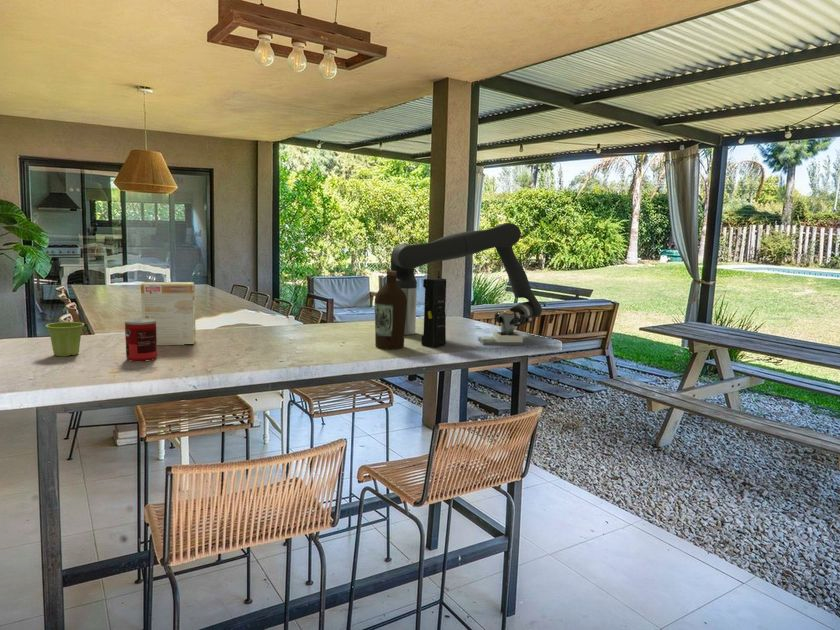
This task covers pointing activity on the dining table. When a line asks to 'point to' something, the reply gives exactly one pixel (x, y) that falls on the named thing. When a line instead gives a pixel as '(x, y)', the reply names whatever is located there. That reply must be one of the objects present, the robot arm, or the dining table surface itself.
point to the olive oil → (390, 314)
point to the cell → (507, 323)
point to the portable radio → (434, 312)
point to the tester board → (502, 339)
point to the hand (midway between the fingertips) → (506, 320)
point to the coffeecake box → (170, 311)
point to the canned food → (141, 339)
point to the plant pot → (65, 337)
